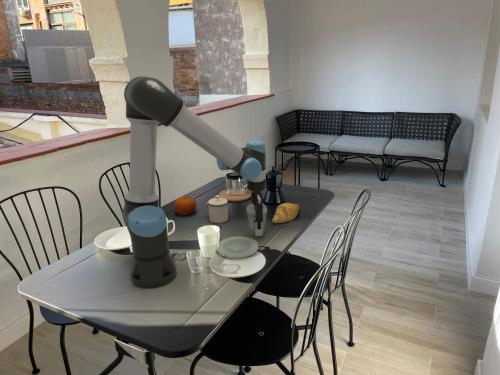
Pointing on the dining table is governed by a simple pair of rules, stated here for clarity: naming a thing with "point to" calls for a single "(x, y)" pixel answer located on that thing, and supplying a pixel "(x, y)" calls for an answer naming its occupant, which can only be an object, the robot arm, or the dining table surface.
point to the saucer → (237, 247)
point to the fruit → (185, 205)
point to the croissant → (285, 212)
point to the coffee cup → (252, 218)
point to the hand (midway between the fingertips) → (257, 231)
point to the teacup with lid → (217, 209)
